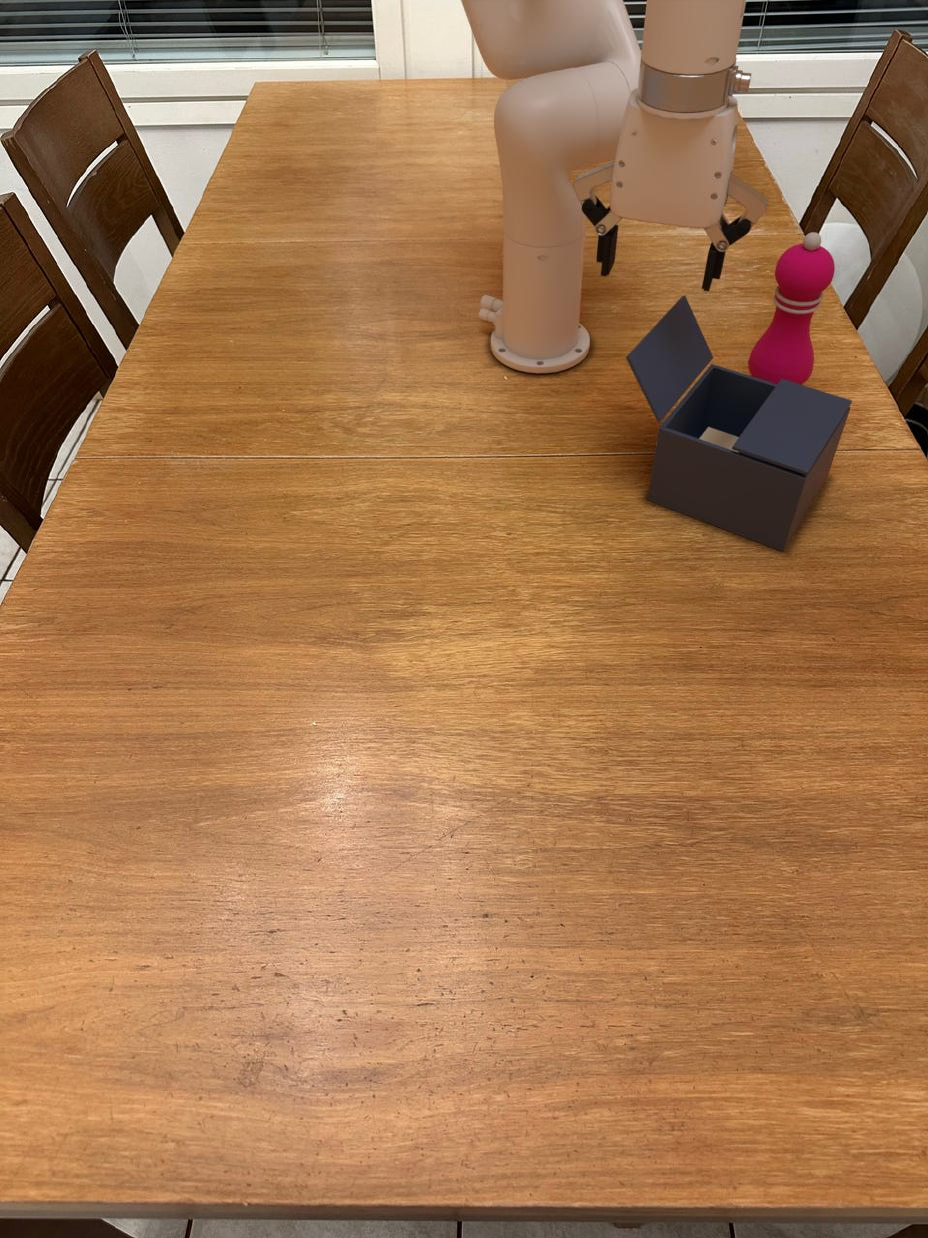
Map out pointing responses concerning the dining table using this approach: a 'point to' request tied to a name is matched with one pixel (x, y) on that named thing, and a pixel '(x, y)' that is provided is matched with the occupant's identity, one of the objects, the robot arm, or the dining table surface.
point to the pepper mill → (793, 313)
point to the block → (719, 438)
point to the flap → (670, 358)
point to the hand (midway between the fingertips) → (657, 276)
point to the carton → (748, 454)
